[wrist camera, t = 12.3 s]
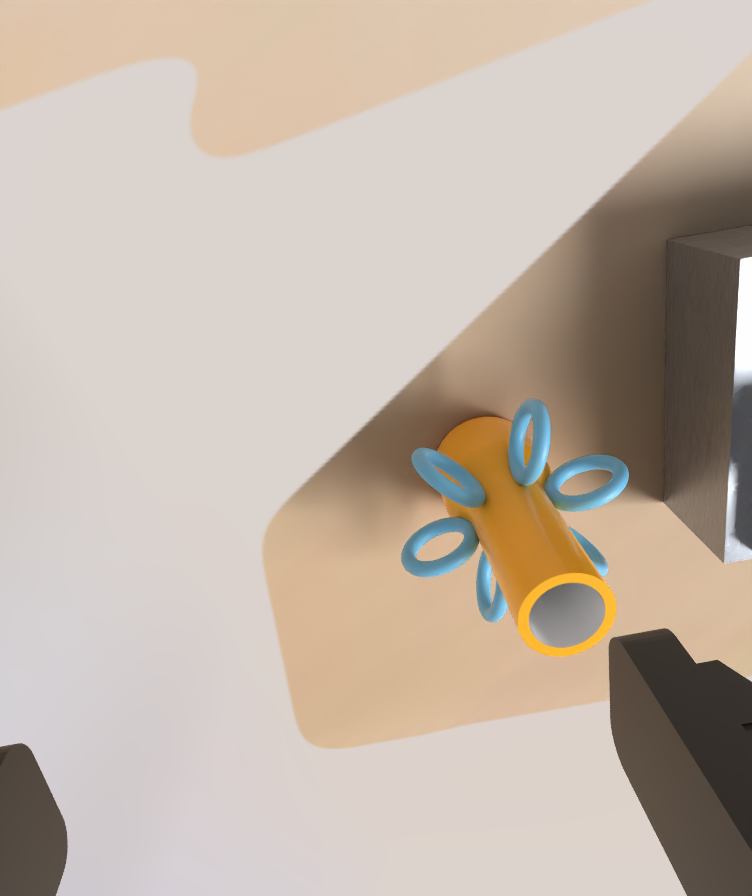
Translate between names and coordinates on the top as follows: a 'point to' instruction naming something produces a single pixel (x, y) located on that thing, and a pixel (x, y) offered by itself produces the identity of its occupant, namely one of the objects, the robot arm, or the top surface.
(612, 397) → the top surface
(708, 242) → the grey boxy piece
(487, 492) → the cylinder
